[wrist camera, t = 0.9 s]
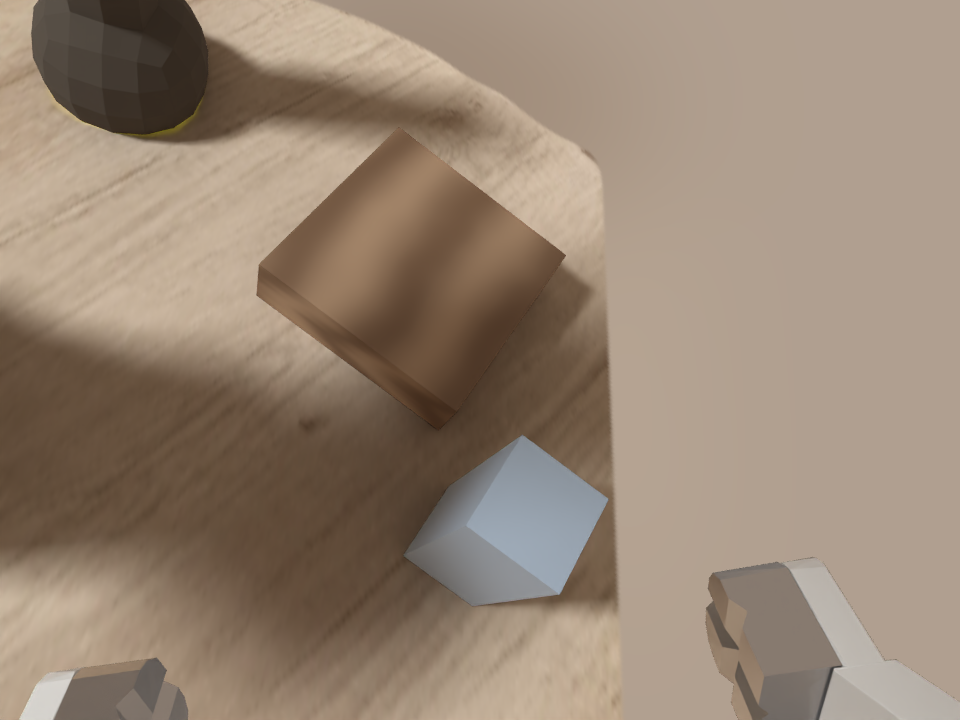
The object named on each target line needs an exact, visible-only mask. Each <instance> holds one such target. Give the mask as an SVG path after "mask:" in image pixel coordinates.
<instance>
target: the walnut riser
mask: <svg viewBox="0 0 960 720" xmlns="http://www.w3.org/2000/svg"><path fill="white" fill-rule="evenodd" d="M565 256H566V255H565V254H564V253H562V252H561V251H560V250H559V249H557V248H556V247H555V246H553V245H552V244H551V243H549V242H548V241H547V240H546V239H544V238H543V237H542V236H540V235H539V234H538V233H536V232H535V231H534V230H532V229H531V228H530V227H529V226H527V225H526V224H525V223H523V222H522V221H521V220H519V219H518V218H517V217H515V216H514V215H513V214H512V213H510V212H509V211H508V210H506V209H505V208H504V207H502V206H501V205H500V204H499V203H497V202H496V201H495V200H493V199H492V198H491V197H489V196H488V195H487V194H485V193H484V192H483V191H482V190H480V189H479V188H478V187H476V186H475V185H474V184H472V183H471V182H470V181H468V180H467V179H466V178H465V177H463V176H462V175H461V174H459V173H458V172H457V171H455V170H454V169H453V168H452V167H450V166H449V165H448V164H446V163H445V162H444V161H442V160H441V159H440V158H438V157H437V156H436V155H435V154H433V153H432V152H431V151H429V150H428V149H427V148H425V147H424V146H423V145H421V144H420V143H419V142H418V141H416V140H415V139H414V138H412V137H411V136H410V135H408V134H407V133H406V132H405V131H403V130H402V129H401V128H398V129H397V130H396V131H395V132H394V133H393V134H392V135H391V136H390V137H389V138H387V139H386V140H385V141H384V142H383V143H382V144H381V145H380V146H379V147H378V148H377V149H376V150H375V151H374V152H373V153H372V154H371V155H370V156H369V157H368V158H367V159H366V160H365V161H364V162H363V163H362V164H361V165H360V166H359V167H358V168H357V169H356V170H355V171H354V172H353V173H352V174H351V175H350V176H349V177H348V178H347V179H346V180H345V181H344V182H343V183H342V184H340V185H339V186H338V187H337V188H336V189H335V190H334V191H333V192H332V193H331V194H330V195H329V196H328V197H327V198H326V199H325V200H324V201H323V202H322V203H321V204H320V205H319V206H318V207H317V208H316V209H315V210H314V211H313V212H312V213H311V214H310V215H309V216H308V217H307V218H306V219H305V220H304V221H303V222H302V223H301V224H300V225H299V226H298V227H297V228H296V229H295V230H293V231H292V232H291V233H290V234H289V235H288V236H287V237H286V238H285V239H284V240H283V241H282V242H281V243H280V244H279V245H278V246H277V247H276V248H275V249H274V250H273V251H272V252H271V253H270V254H269V255H268V256H267V257H266V258H265V259H264V260H263V261H262V262H261V263H260V264H259V271H258V284H257V296H258V297H260V298H261V299H262V300H264V301H265V302H266V303H268V304H269V305H270V306H272V307H273V308H274V309H276V310H277V311H278V312H280V313H281V314H282V315H284V316H285V317H286V318H288V319H289V320H291V321H292V322H293V323H295V324H296V325H297V326H299V327H300V328H301V329H303V330H304V331H305V332H307V333H308V334H309V335H311V336H312V337H313V338H315V339H316V340H317V341H319V342H320V343H321V344H323V345H324V346H326V347H327V348H328V349H330V350H331V351H332V352H334V353H335V354H336V355H338V356H339V357H340V358H342V359H343V360H344V361H346V362H347V363H348V364H350V365H351V366H352V367H354V368H355V369H357V370H358V371H359V372H361V373H362V374H363V375H365V376H366V377H367V378H369V379H370V380H371V381H373V382H374V383H375V384H377V385H378V386H379V387H381V388H382V389H383V390H385V391H386V392H388V393H389V394H390V395H392V396H393V397H394V398H396V399H397V400H398V401H400V402H401V403H402V404H404V405H405V406H406V407H408V408H409V409H410V410H412V411H413V412H414V413H416V414H417V415H419V416H420V417H421V418H423V419H424V420H425V421H427V422H428V423H429V424H431V425H432V426H433V427H435V428H436V429H437V430H439V429H440V428H441V427H442V426H443V425H444V424H445V423H446V422H447V421H448V420H449V419H450V418H451V417H452V416H453V415H454V414H455V413H456V412H457V411H458V410H459V408H460V407H461V405H462V404H463V402H464V401H465V400H466V398H467V397H468V395H469V394H470V392H471V391H472V390H473V388H474V387H475V385H476V384H477V382H478V381H479V379H480V378H481V377H482V375H483V374H484V372H485V371H486V369H487V368H488V367H489V365H490V364H491V362H492V361H493V359H494V358H495V357H496V355H497V354H498V352H499V351H500V349H501V348H502V347H503V345H504V344H505V342H506V341H507V339H508V338H509V337H510V335H511V334H512V332H513V331H514V329H515V328H516V327H517V325H518V324H519V322H520V321H521V319H522V318H523V316H524V315H525V314H526V312H527V311H528V309H529V308H530V306H531V305H532V304H533V302H534V301H535V299H536V298H537V296H538V295H539V294H540V292H541V291H542V289H543V288H544V286H545V285H546V284H547V282H548V281H549V279H550V278H551V276H552V275H553V274H554V272H555V271H556V269H557V268H558V266H559V265H560V264H561V262H562V261H563V259H564V258H565Z"/></svg>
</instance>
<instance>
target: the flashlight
mask: <svg viewBox="0 0 960 720" xmlns="http://www.w3.org/2000/svg"><path fill="white" fill-rule="evenodd" d="M31 35H32V50H33V58H34V61H35V63H36V65H37V67H38V69H39V71H40V73H41V76H42V78H43V80H44V82H45V84H46V85H47V87H48V89H49V90H50V92H51V93H52V95H53V96H54V98H55V100H56V101H57V102H58V103H60V104H61V105H62V106H63V107H65V108H66V109H67V110H68V111H70V112H71V113H72V114H73V115H75V116H76V117H77V118H78V119H80V120H82V121H84V122H87V123H89V124H92V125H95V126H97V127H100V128H102V129H105V130H108V131H110V132H116V133H131V134H149V133H154V132H158V131H162V130H166V129H170V128H174V127H175V126H177V125H178V124H180V123H181V122H183V121H184V120H186V119H187V118H188V117H190V116H191V115H193V114H194V112H195V110H196V108H197V106H198V104H199V102H200V101H201V99H202V97H203V95H204V91H205V87H206V82H207V78H208V49H207V45H206V41H205V38H204V34H203V31H202V28H201V26H200V24H199V22H198V20H197V19H196V17H195V15H194V13H193V11H192V9H191V8H190V6H189V5H188V4H187V2H186V1H185V0H38V2H37V3H36V5H35V6H34V11H33V21H32V32H31Z"/></svg>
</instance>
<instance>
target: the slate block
mask: <svg viewBox="0 0 960 720" xmlns="http://www.w3.org/2000/svg"><path fill="white" fill-rule="evenodd" d="M608 500H609V499H608V498H607V497H605V496H604V495H603V494H601V493H600V492H598V491H597V490H596V489H594V488H593V487H592V486H590V485H589V484H588V483H586V482H585V481H584V480H582V479H581V478H580V477H578V476H577V475H576V474H574V473H573V472H572V471H570V470H569V469H568V468H566V467H565V466H564V465H562V464H561V463H560V462H558V461H557V460H556V459H554V458H553V457H552V456H550V455H549V454H548V453H546V452H545V451H544V450H542V449H541V448H540V447H538V446H537V445H536V444H534V443H533V442H532V441H530V440H529V439H528V438H526V437H525V436H524V435H521V436H520V437H519V438H517V439H516V440H514V441H513V442H511V443H510V444H509V445H507V446H506V447H504V448H503V449H501V450H500V451H498V452H497V453H496V454H494V455H493V456H491V457H490V458H488V459H487V460H486V461H484V462H483V463H481V464H480V465H478V466H477V467H476V468H474V469H473V470H471V471H470V472H468V473H467V474H466V475H464V476H463V477H461V478H460V479H458V480H457V481H455V482H454V483H453V484H451V485H450V486H449V487H448V488H447V490H446V491H445V493H444V494H443V496H442V497H441V499H440V500H439V502H438V503H437V505H436V506H435V508H434V510H433V511H432V513H431V514H430V516H429V517H428V519H427V520H426V522H425V523H424V525H423V526H422V528H421V529H420V531H419V532H418V534H417V535H416V537H415V538H414V540H413V541H412V543H411V544H410V546H409V547H408V549H407V550H406V552H405V553H404V555H403V556H404V557H405V558H407V559H408V560H410V561H411V562H412V563H414V564H415V565H416V566H418V567H419V568H421V569H422V570H423V571H425V572H426V573H427V574H429V575H430V576H432V577H433V578H434V579H436V580H437V581H438V582H440V583H441V584H443V585H444V586H445V587H447V588H448V589H449V590H451V591H452V592H454V593H455V594H456V595H458V596H459V597H460V598H462V599H463V600H464V601H466V602H467V603H469V604H470V605H471V606H477V605H485V604H492V603H500V602H507V601H515V600H522V599H530V598H537V597H545V596H552V595H560V593H561V591H562V589H563V587H564V585H565V583H566V581H567V579H568V577H569V575H570V573H571V571H572V569H573V568H574V566H575V564H576V562H577V560H578V558H579V556H580V554H581V552H582V550H583V548H584V546H585V544H586V542H587V540H588V538H589V537H590V535H591V533H592V531H593V529H594V527H595V525H596V523H597V521H598V519H599V517H600V515H601V513H602V511H603V509H604V507H605V506H606V504H607V502H608Z"/></svg>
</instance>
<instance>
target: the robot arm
mask: <svg viewBox="0 0 960 720" xmlns="http://www.w3.org/2000/svg"><path fill="white" fill-rule="evenodd" d="M708 590H709V592H710V594H711V597H712V599H713V602H712V603H711V604H710V605H709V606H708V607H707V608H706V628H707V634H708V641H709V644H710V648H711V651H712V654H713V657H714V660H715V663H716V665H717V668H718V670H719V673H721V674H722V675H723V676H724V677H726V678H727V679H728V680H729V681H731V682H732V683H733V684H734V686H733V693H732V701H731V703H732V706H733V708H734V711H735V713H736V716H737V718H738V720H960V702H959V701H958V700H956V699H955V698H953V697H952V696H950V695H949V694H947V693H946V692H944V691H943V690H941V689H940V688H938V687H937V686H935V685H934V684H932V683H931V682H929V681H928V680H926V679H925V678H923V677H922V676H920V675H919V674H917V673H916V672H914V671H913V670H911V669H910V668H908V667H907V666H905V665H904V664H902V663H901V662H899V661H898V660H896V659H895V660H885V659H884V658H883V656H882V655H881V653H880V652H879V650H878V648H877V647H876V645H875V644H874V642H873V641H872V639H871V637H870V636H869V634H868V633H867V631H866V629H865V628H864V626H863V625H862V623H861V622H860V620H859V618H858V617H857V615H856V614H855V612H854V610H853V609H852V607H851V606H850V604H849V602H848V601H847V599H846V598H845V596H844V595H843V593H842V591H841V590H840V588H839V586H838V585H837V583H836V582H835V580H834V579H833V577H832V576H831V574H830V572H829V571H828V569H827V567H826V566H825V564H824V563H823V562H821V561H820V560H819V559H818V558H813V557H811V558H805V559H800V560H794V561H788V562H783V563H779V562H775V563H768V564H762V565H756V566H751V567H745V568H739V569H733V570H727V571H721V572H715V573H712V575H711V576H710V578H709V585H708ZM166 671H167V670H166V669H165V668H164V666H163V665H162V664H161V662H160V661H159V660H158V659H157V658H151V659H144V660H137V661H129V662H122V663H115V664H108V665H100V666H93V667H83V668H76V669H70V670H63V671H56V672H50V673H47V674H46V675H45V676H44V677H43V678H42V679H41V680H40V681H39V682H38V683H37V685H36V686H35V688H34V690H33V692H32V694H31V696H30V699H29V701H28V703H27V705H26V707H25V709H24V711H23V713H22V715H21V717H20V719H19V720H188V708H187V705H186V701H185V697H184V695H183V694H182V692H181V691H180V689H179V688H178V687H176V686H174V685H172V684H170V683H167V682H165V681H163V680H164V677H165V674H166Z"/></svg>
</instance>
